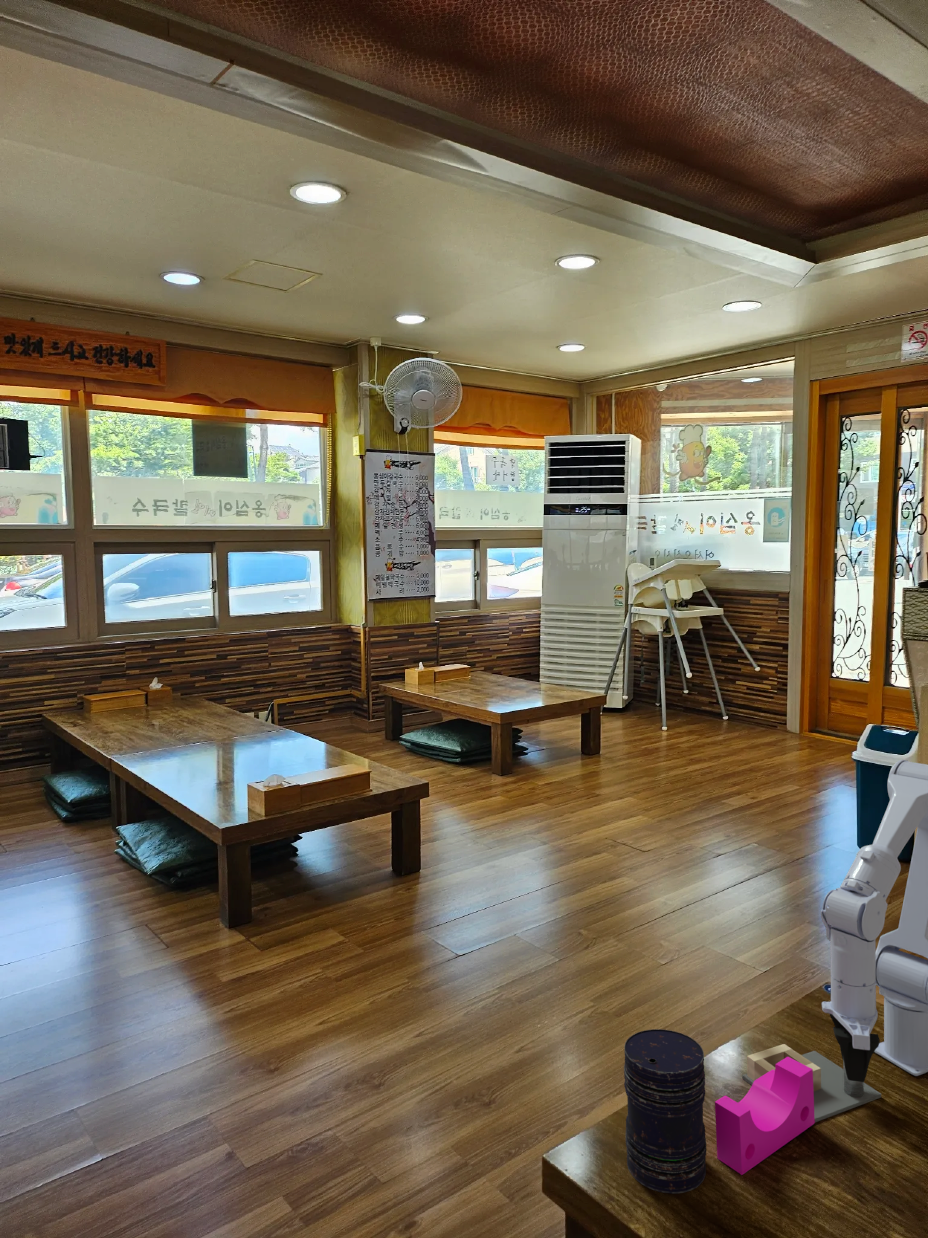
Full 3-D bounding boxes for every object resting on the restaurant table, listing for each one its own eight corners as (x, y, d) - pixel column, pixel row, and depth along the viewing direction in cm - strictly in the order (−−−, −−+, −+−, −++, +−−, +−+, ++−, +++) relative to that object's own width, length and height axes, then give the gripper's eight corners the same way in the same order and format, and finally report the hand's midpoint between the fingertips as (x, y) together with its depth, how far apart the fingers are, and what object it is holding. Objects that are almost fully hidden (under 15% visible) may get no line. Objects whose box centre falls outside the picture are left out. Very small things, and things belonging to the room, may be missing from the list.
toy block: (773, 1100, 119) (771, 1048, 118) (814, 1123, 114) (812, 1069, 113) (701, 1148, 110) (699, 1092, 110) (741, 1175, 105) (739, 1117, 105)
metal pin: (853, 1084, 122) (852, 1029, 121) (868, 1094, 119) (867, 1038, 119) (839, 1089, 121) (839, 1034, 120) (854, 1099, 118) (854, 1043, 118)
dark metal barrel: (650, 1129, 114) (647, 1020, 113) (720, 1161, 108) (718, 1045, 107) (611, 1170, 107) (608, 1054, 106) (684, 1207, 100) (681, 1083, 99)
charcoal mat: (814, 1054, 130) (814, 1050, 130) (881, 1097, 119) (881, 1094, 119) (742, 1078, 125) (742, 1075, 125) (805, 1126, 114) (805, 1122, 114)
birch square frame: (784, 1063, 127) (784, 1044, 127) (821, 1089, 121) (820, 1068, 121) (747, 1076, 125) (747, 1056, 124) (783, 1102, 118) (782, 1081, 118)
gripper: (816, 951, 127) (817, 1040, 128) (828, 999, 113) (829, 1098, 114) (868, 956, 125) (868, 1046, 126) (887, 1005, 111) (887, 1106, 112)
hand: (853, 1072), depth 120 cm, fingers open, 3 cm apart
